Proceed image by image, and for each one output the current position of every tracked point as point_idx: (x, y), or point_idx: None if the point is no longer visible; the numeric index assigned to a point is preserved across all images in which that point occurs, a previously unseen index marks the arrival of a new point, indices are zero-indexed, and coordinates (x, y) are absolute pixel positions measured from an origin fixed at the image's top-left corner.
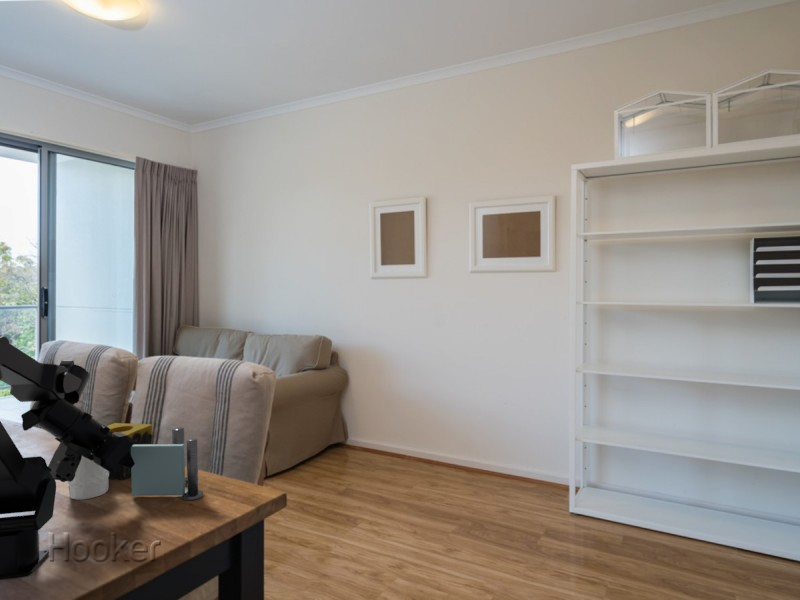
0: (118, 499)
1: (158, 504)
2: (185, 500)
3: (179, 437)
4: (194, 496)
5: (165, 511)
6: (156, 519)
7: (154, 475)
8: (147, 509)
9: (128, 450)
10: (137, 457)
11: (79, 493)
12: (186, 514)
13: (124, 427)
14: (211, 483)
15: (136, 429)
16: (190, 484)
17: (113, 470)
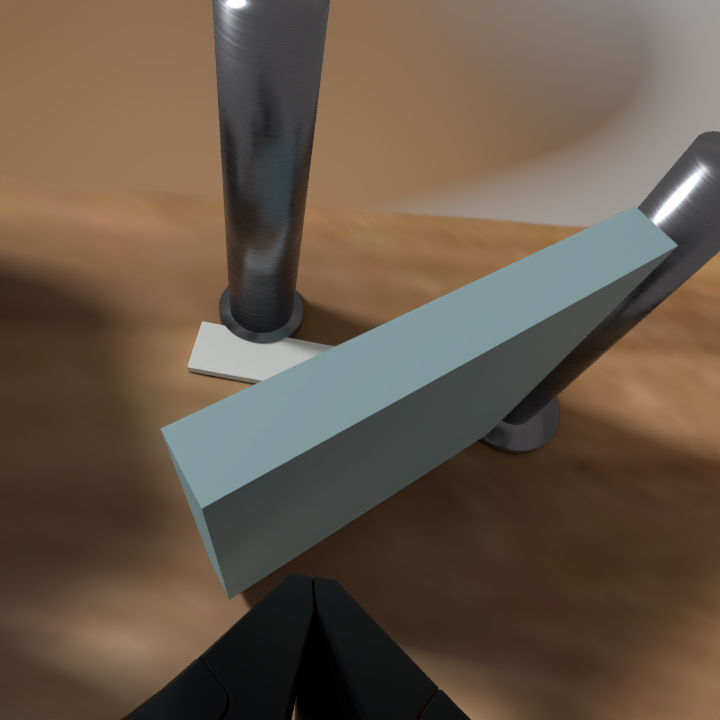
0: (152, 668)
1: (459, 560)
2: (523, 452)
3: (317, 85)
4: (538, 412)
5: (579, 597)
6: (649, 697)
7: (391, 474)
8: (476, 644)
9: (446, 699)
10: (284, 502)
11: None
12: (687, 557)
13: None
14: (425, 271)
15: None
16: (558, 392)
17: None
